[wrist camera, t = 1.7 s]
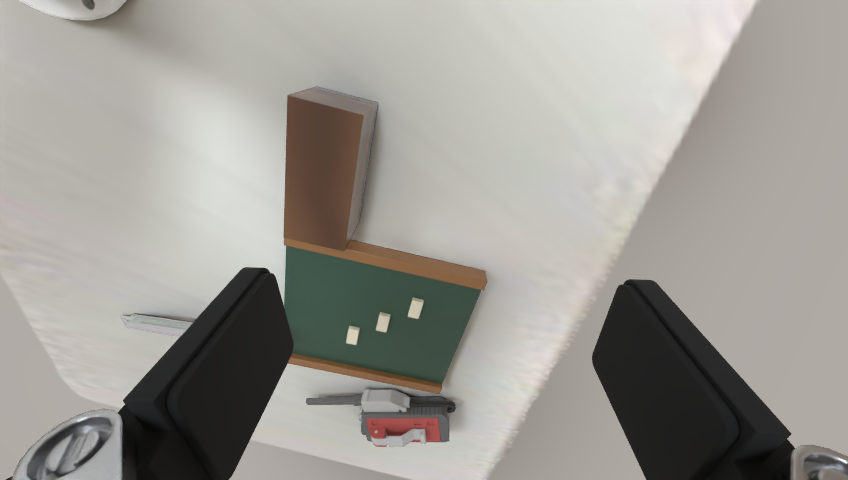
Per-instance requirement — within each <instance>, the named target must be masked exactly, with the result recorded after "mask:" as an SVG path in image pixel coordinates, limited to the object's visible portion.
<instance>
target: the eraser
mask: <svg viewBox="0 0 848 480" xmlns="http://www.w3.org/2000/svg"><path fill="white" fill-rule="evenodd" d="M377 107H378V103H377V102H374V101H370V100H366V99H362V98H359V97H355V96H351V95H347V94H343V93H340V92H336V91H332V90H328V89H325V88H321V87H314V88H310V89H306V90H303V91H300V92H297V93H293V94H290V95H288V99H287V136H286V172H285V209H284V238H287V239H291V240H296V241H300V242H304V243H309V244H313V245H318V246H322V247H326V248H331V249H335V250H339V251H345V249H346V247H347V245H348V243H349V241H350V239H351V237H352V235H353V233H354V231H355V229H356V227H357V225H358V223H359V221H360V214H361V208H362V202H363V195H364V189H365V183H366V177H367V170H368V164H369V158H370V151H371V145H372V139H373V132H374V126H375V120H376V114H377Z"/></svg>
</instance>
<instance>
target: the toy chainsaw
mask: <svg viewBox="0 0 848 480" xmlns="http://www.w3.org/2000/svg"><path fill="white" fill-rule="evenodd" d="M306 403H307V404H308V405H343V404H354V406H360V409H362V414H359V420H361V421H362V424H361V432H362V434H363V435H366V437H367V440H368V441H371V442H373V444H374V445H375V446H378V447H386V446H387V445H388V446H389V447H403V446H405V445H407V444H408V443H410V442H421V443H422V444H426V442H447V441H449V417H448V413H451V412H454V411H455V409H456V407H455V403H454V402H452V401H447V400H446V399H444V398H442V397H408V395H406V394H403V393H401V392H399V391H396V390H371V389H364V391H363V395H355V396H327V397H326V398H307V399H306Z"/></svg>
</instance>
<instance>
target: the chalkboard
mask: <svg viewBox="0 0 848 480" xmlns="http://www.w3.org/2000/svg"><path fill="white" fill-rule="evenodd" d="M284 245H286V271H285V302H284V309H285V313H286V316H287V320H288V323H289V327H290V331H291V334H292V338H293V342H294V347H293V352H292V355H291V357H290V359H289V361H288V363H289V364H294V365H299V366H304V367H309V368H314V369H319V370H324V371H329V372H334V373H339V374H343V375H348V376H353V377H358V378H363V379H368V380H373V381H378V382H383V383H388V384H393V385H398V386H403V387H408V388H413V389H418V390H423V391H428V392H432V393H437V394H439V393H440V391H441V389H442V382H443V380H444V378H445V375H446V373H447V370H448V368H449V366H450V363H451V361H452V359H453V356H454V354H455V352H456V349H457V347H458V344H459V342H460V340H461V337H462V335H463V333H464V330H465V328H466V325H467V323H468V321H469V318H470V316H471V314H472V311H473V309H474V307H475V304H476V302H477V299H478V297H479V295H480V292H481V290H484V288H485V286H486V283H487V278H486V272H485V271H483V270H478V269H474V268H470V267H465V266H461V265H457V264H452V263H448V262H444V261H439V260H435V259H431V258H427V257H422V256H418V255H414V254H409V253H405V252H401V251H396V250H392V249H388V248H383V247H379V246H375V245H371V244H366V243H362V242H358V241H353V240H350V241H349V243H348V245H347V247H346V249H345V251H339V250H335V249H331V248H326V247H322V246H318V245H313V244H309V243H304V242H300V241H296V240H291V239H287V238H284ZM412 298H417V299H422V300H424V303H423V306H422V309H421V312H420V316H419V319H416V318H411V317H408V312H409V309H410V305H411V302H412ZM380 312H382V313H387V314H390V315H391V316H390V320H389V324H388V328H387V332H381V331H377V330H376V327H377V323H378V318H379V314H380ZM349 326H353V327H358V328H360V330H359V335H358V340H357V344H356V345H353V344H348V343H346V340H347V334H348V329H349Z"/></svg>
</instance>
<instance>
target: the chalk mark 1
mask: <svg viewBox="0 0 848 480" xmlns="http://www.w3.org/2000/svg"><path fill="white" fill-rule="evenodd" d="M359 330H360V328H358V327H353V326H349V329H348V334H347V340H346V343H348V344H353V345H356V344H357V340H358V335H359Z"/></svg>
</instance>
